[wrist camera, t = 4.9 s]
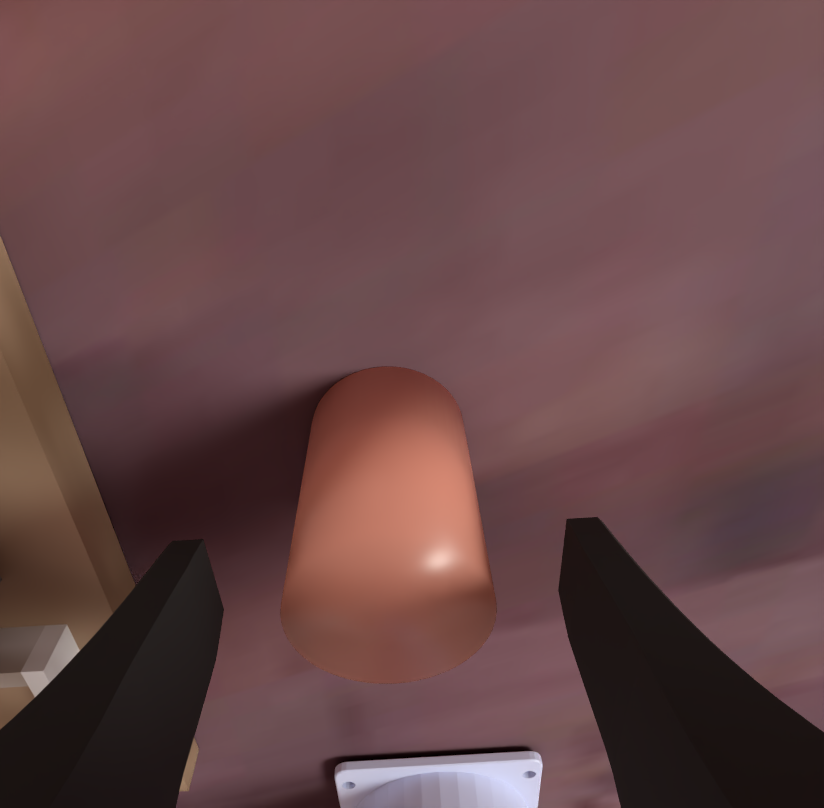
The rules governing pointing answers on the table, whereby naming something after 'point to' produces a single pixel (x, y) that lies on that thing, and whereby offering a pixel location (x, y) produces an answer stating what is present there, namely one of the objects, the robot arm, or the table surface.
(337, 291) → the table surface
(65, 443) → the board
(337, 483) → the cap
